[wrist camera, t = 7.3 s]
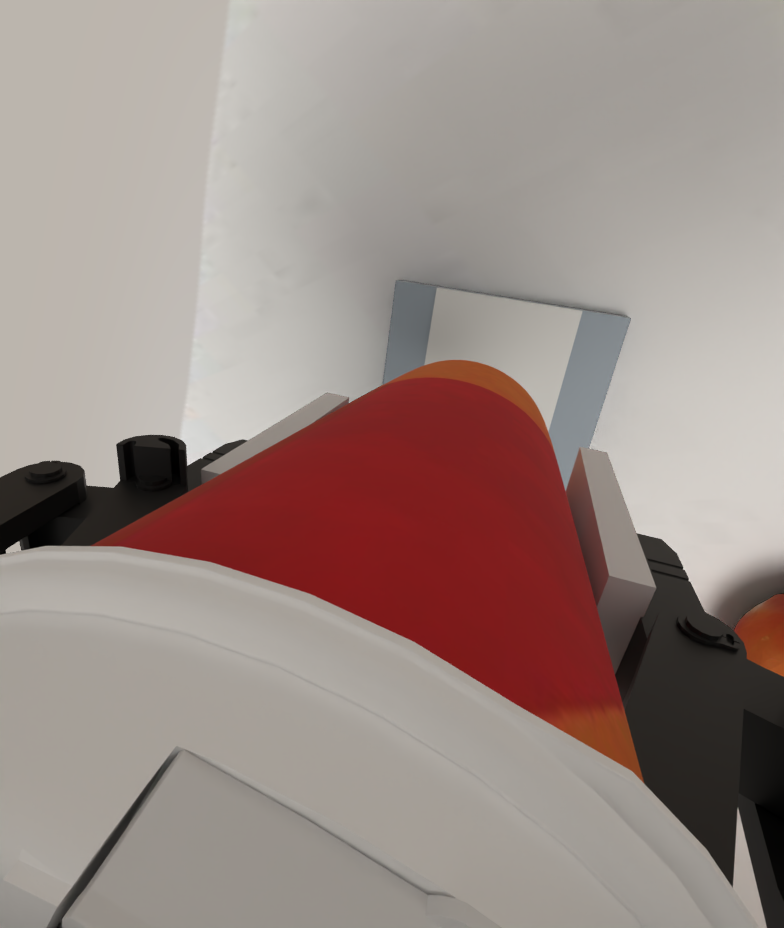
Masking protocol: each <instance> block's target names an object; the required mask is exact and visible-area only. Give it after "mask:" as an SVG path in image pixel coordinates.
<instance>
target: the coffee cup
mask: <svg viewBox="0 0 784 928" xmlns="http://www.w3.org/2000/svg"><path fill="white" fill-rule="evenodd" d="M0 928H759V926H758V924H757V923H756V921H755V920H754V918H753V917H752V915H751V914H750V912H749V911H748V910H747V908H746V907H745V905H744V904H743V902H742V901H741V899H740V898H739V896H738V895H737V893H736V892H735V890H734V889H733V887H732V886H731V885H730V883H729V882H728V880H727V879H726V877H725V876H724V874H723V873H722V871H721V870H720V868H719V867H718V865H717V864H716V862H715V861H714V860H713V858H712V857H711V855H710V854H709V852H708V851H707V849H706V848H705V847H704V846H703V845H702V844H701V843H700V842H699V841H698V840H697V839H696V838H695V837H694V836H693V834H692V833H691V832H690V831H689V830H688V829H687V828H686V827H685V826H684V825H683V824H682V823H681V822H680V821H679V820H678V819H677V818H676V817H675V816H674V815H673V813H672V812H671V811H670V810H669V809H668V808H667V807H666V806H665V805H664V804H663V803H662V802H661V801H660V800H659V799H658V798H657V797H656V796H655V795H654V794H653V792H652V791H651V790H650V789H649V788H648V787H647V786H646V785H645V784H644V781H643V777H642V774H641V770H640V766H639V762H638V759H637V755H636V751H635V748H634V744H633V740H632V736H631V733H630V729H629V725H628V722H627V718H626V714H625V710H624V707H623V703H622V699H621V696H620V692H619V688H618V684H617V681H616V677H615V673H614V670H613V666H612V662H611V658H610V655H609V651H608V647H607V644H606V640H605V636H604V632H603V629H602V625H601V621H600V617H599V614H598V610H597V606H596V602H595V599H594V595H593V591H592V588H591V584H590V580H589V576H588V573H587V569H586V565H585V561H584V558H583V554H582V550H581V546H580V543H579V539H578V535H577V531H576V528H575V524H574V520H573V517H572V513H571V509H570V506H569V502H568V498H567V495H566V491H565V488H564V484H563V480H562V477H561V473H560V469H559V466H558V462H557V459H556V456H555V452H554V449H553V445H552V442H551V439H550V436H549V433H548V430H547V427H546V424H545V421H544V419H543V417H542V415H541V413H540V411H539V409H538V407H537V405H536V403H535V402H534V400H533V399H532V397H531V396H530V395H529V394H528V392H527V391H526V390H525V389H524V388H523V387H522V386H521V385H520V384H519V383H518V382H516V381H515V380H514V379H512V378H511V377H510V376H508V375H507V374H505V373H504V372H502V371H500V370H498V369H496V368H494V367H491V366H489V365H486V364H482V363H479V362H474V361H468V360H445V361H438V362H434V363H430V364H427V365H424V366H421V367H419V368H416V369H414V370H412V371H410V372H407V373H405V374H403V375H401V376H399V377H397V378H395V379H393V380H391V381H390V382H388V383H386V384H384V385H382V386H380V387H378V388H376V389H374V390H373V391H371V392H369V393H367V394H365V395H363V396H361V397H360V398H358V399H356V400H354V401H352V402H350V403H349V404H347V405H345V406H343V407H341V408H339V409H338V410H336V411H334V412H332V413H330V414H328V415H327V416H325V417H323V418H321V419H319V420H318V421H316V422H314V423H312V424H310V425H309V426H307V427H305V428H303V429H301V430H299V431H298V432H296V433H294V434H292V435H290V436H289V437H287V438H285V439H283V440H281V441H280V442H278V443H276V444H274V445H272V446H271V447H269V448H267V449H265V450H263V451H262V452H260V453H258V454H256V455H254V456H253V457H251V458H249V459H247V460H245V461H244V462H242V463H240V464H238V465H236V466H234V467H233V468H231V469H229V470H227V471H225V472H224V473H222V474H220V475H218V476H216V477H215V478H213V479H211V480H209V481H207V482H206V483H204V484H202V485H200V486H198V487H196V488H195V489H193V490H191V491H189V492H187V493H186V494H184V495H182V496H180V497H178V498H177V499H175V500H173V501H171V502H169V503H167V504H166V505H164V506H162V507H160V508H158V509H157V510H155V511H153V512H151V513H149V514H148V515H146V516H144V517H142V518H140V519H138V520H137V521H135V522H133V523H131V524H129V525H128V526H126V527H124V528H122V529H120V530H119V531H117V532H115V533H113V534H111V535H110V536H108V537H106V538H104V539H102V540H100V541H99V542H97V543H95V544H93V545H91V546H43V547H38V548H33V549H27V550H22V551H17V552H12V553H7V554H2V555H0Z"/></svg>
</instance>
